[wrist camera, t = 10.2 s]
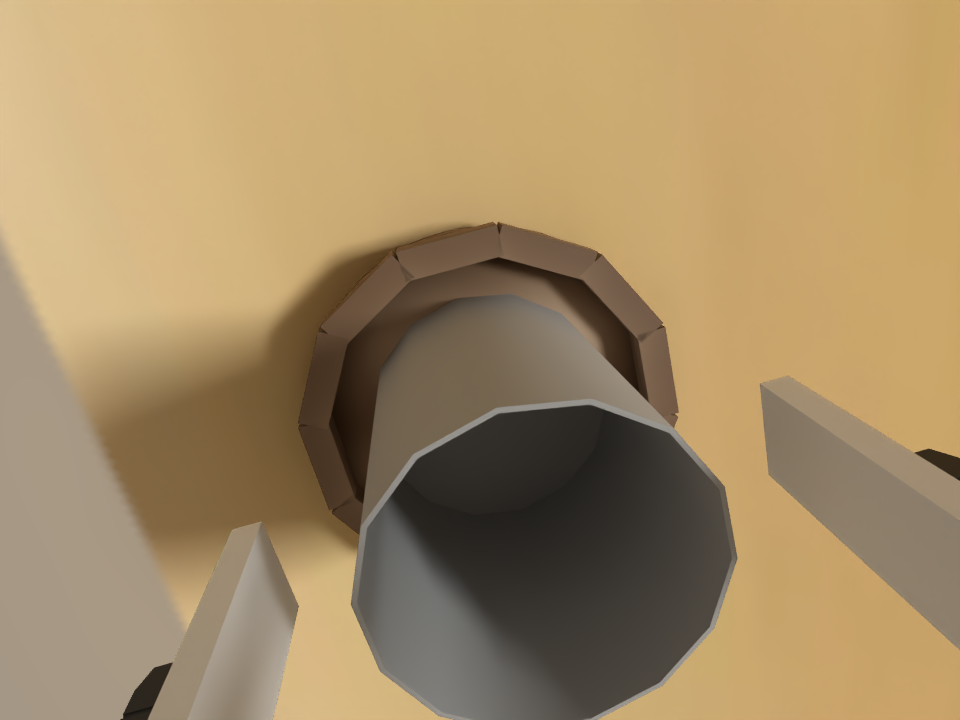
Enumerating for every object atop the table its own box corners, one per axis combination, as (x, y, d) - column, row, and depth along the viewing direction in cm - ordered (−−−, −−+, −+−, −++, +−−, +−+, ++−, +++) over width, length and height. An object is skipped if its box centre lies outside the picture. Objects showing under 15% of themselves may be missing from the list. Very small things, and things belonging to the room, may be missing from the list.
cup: (512, 542, 25) (578, 779, 15) (330, 440, 23) (276, 642, 13) (647, 373, 23) (811, 520, 14) (464, 246, 21) (511, 318, 12)
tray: (259, 281, 22) (246, 292, 20) (624, 183, 22) (643, 185, 20) (372, 586, 26) (369, 616, 24) (677, 500, 26) (696, 524, 24)
